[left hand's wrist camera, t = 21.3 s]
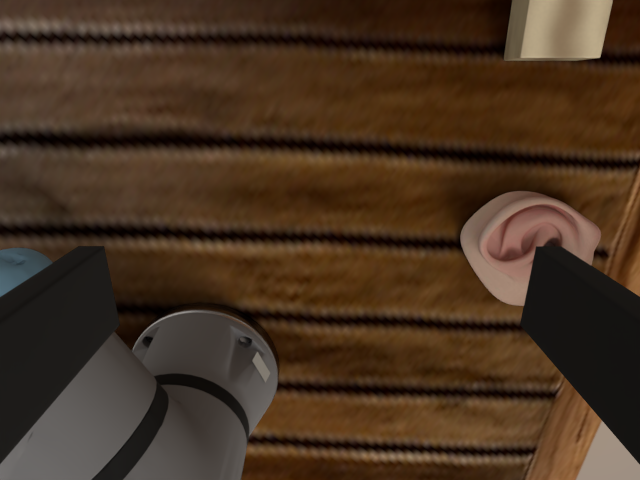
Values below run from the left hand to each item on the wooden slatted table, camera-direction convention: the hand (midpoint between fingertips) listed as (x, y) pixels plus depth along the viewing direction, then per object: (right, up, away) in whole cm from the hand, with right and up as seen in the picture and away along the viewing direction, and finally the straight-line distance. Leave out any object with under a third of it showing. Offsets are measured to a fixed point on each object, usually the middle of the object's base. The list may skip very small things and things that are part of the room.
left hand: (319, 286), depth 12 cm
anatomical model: (+20, +1, +26) cm, 33 cm away
